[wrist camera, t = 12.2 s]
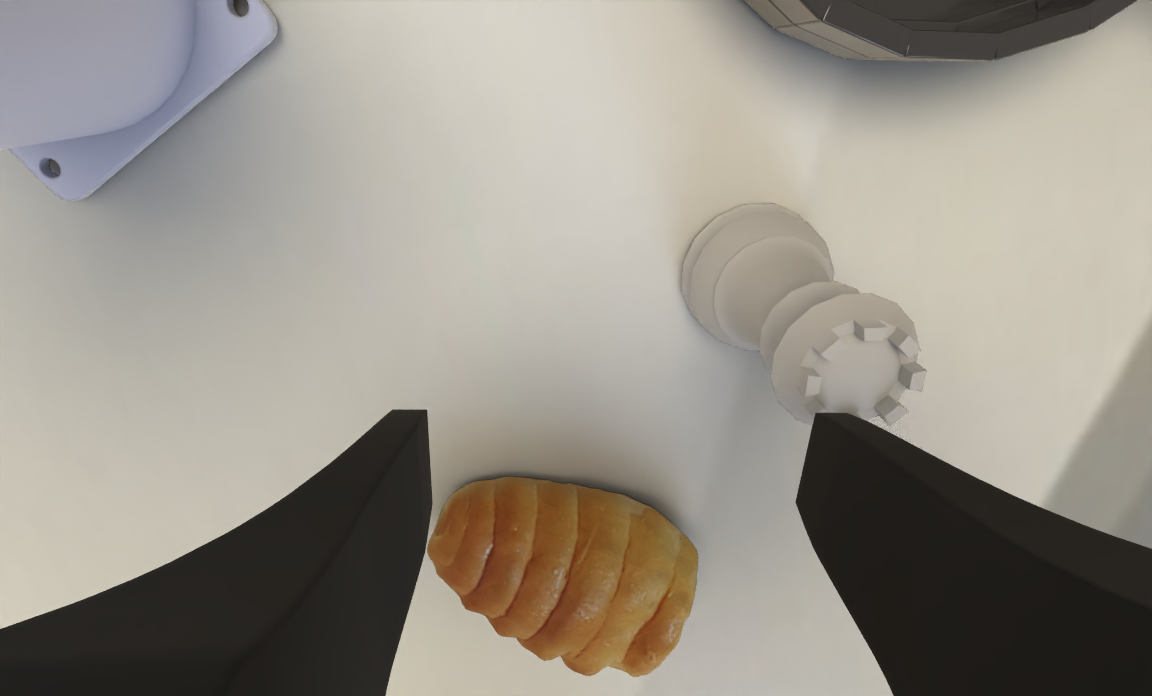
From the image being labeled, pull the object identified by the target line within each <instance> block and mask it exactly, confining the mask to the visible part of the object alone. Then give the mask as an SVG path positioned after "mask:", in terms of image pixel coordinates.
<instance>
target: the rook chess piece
mask: <svg viewBox="0 0 1152 696" xmlns="http://www.w3.org/2000/svg"><path fill="white" fill-rule="evenodd" d="M833 277H834V269H833V265H832V262H831V258H830V254H829V251H828V247H827V245H826V242H825V241H824V240H823V239H822V238H821V236H820V235H819V234H818V233H817V232H816V231H815V230H814V228H813V227H812V226H811V225H810V224H809V223H808V222H806V221H804V220H803V219H802V217H801V216H800V215H799V214H797V213H795V212H793V211H790V210H788V209H785V208H783V207H781V206H778V205H776V204H773V203H771V204H744V205H742V206H739V207H737V208H735V209H732V210H730V211H728V212H725V213H723V214H721V215H719V216H717V217H716V218H715V219H714V220H713V221H711V222H710V223H709V224H708V225H707V226H706V227H705V228H704V229H703V230H702V231H701V232H700V233H699V234H698V235H697V236H696V237H695V239H694V241H693V243H692V245H691V247H690V250H689V252H688V254H687V256H686V258H685V260H684V262H683V274H682V292H683V295H684V298H685V300H686V303H687V305H688V308H689V311H690V313H691V315H693V316H694V317H695V318H696V319H697V320H698V321H699V323H700V324H701V325H702V326H703V327H704V328H705V329H706V330H707V331H708V332H709V333H710V334H711V335H712V336H713V337H714V338H716V339H717V340H719V341H721V342H724V343H726V344H729V345H732V346H735V347H738V348H740V349H743V350H759V351H760V354H761V357H762V360H763V362H764V365H765V368H766V369H767V370H768V371H769V372H770V373H771V374H772V376H771V381H772V384H773V387H774V390H775V393H776V396H777V399H778V402H779V404H781V405H782V406H783V407H784V408H785V409H786V410H787V411H788V412H789V413H790V414H791V415H792V416H793V417H794V418H795V419H796V420H799V421H802V422H805V423H808V424H811V425H813V421H814V417H815V413H849V414H851V415H854V416H857V417H859V418H861V419H863V420H866V421H867V420H869V419H872V418H874V417H877V416H880V417H881V418H882V419H883V420H884V421H885V422H886V423H887V424H888V425H889V426H891V425H892V424H893V423H895V422H896V421H897V420H898V419H900V418H901V417H902V416H904V415H905V414H906V413H907V412H909V411H908V410H907V409H906V408H905V407H904V406H902V405H901V404H900V403H899V402H898V399H899V398H900V396H901V395H902V393H903V392H904V390H905V389H906V388H907V389H909V390H913V391H919V392H922V389H923V385H924V380H925V376H926V372H927V370H925V369H924V368H923V367H922V366H920V365H919V364H918V363H916V360H917V355H918V353H919V352H921V351H922V350H921V349H920V347H919V344H918V340H917V335H916V331H915V326H914V322H913V321H912V320H911V319H910V318H909V317H908V316H907V314H906V313H905V312H904V311H903V310H902V309H901V307H900V306H899V305H898V304H897V303H895V302H892V301H890V300H887V299H885V298H882V297H879V296H877V295H874V294H872V293H870V294H861V293H860V292H859V291H858V290H857V289H855V288H852V287H850V286H847V285H845V284H842V283H840V282H837V281H835V282H834V281H833Z"/></svg>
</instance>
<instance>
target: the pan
mask: <svg viewBox="0 0 1152 696" xmlns="http://www.w3.org/2000/svg"><path fill="white" fill-rule="evenodd" d="M744 1H746V2H747V3H748V4H749V5H750V6H751V7H752V8H753V9H754V10H755V11H756V12H757V13H758V14H759V15H760V16H761V17H762V18H763V19H764V20H765V21H766V22H767V23H768V24H769V25H770V26H771V27H774V28H775V30H778V31H780V32H782V33H785V34H787V35H789V36H792V37H794V38H796V39H798V40H801V41H803V42H805V43H808V44H810V45H812V46H815V47H817V48H819V49H822V50H824V51H826V52H829V53H831V54H833V55H836V56H838V57H840V58H846V59H855V60H884V61H914V62H941V61H992V60H999V59H1002V58H1006V57H1009V56H1012V55H1015V54H1018V53H1022V52H1025V51H1028V50H1031V49H1035V48H1038V47H1041V46H1044V45H1048V44H1051V43H1054V42H1057V41H1061V40H1064V39H1067V38H1070V37H1074V36H1077V35H1080V34H1083V33H1086V32H1088V31H1089V30H1092V29H1094V28H1095V27H1097V26H1098V25H1100V24H1102V23H1103V22H1105V21H1106V20H1108V19H1109V18H1111V17H1112V16H1114V15H1115V14H1117V13H1119V12H1120V11H1122V10H1123V9H1125V8H1126V7H1128V6H1129V5H1131V4H1133V3H1134V2H1136V1H1137V0H744Z"/></svg>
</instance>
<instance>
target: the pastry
mask: <svg viewBox="0 0 1152 696" xmlns="http://www.w3.org/2000/svg"><path fill="white" fill-rule="evenodd" d="M427 552H428V555H429V557H430V559H431V560H432V561H433V563H434V566H435V568H436V572H437V574H438V576H439V577H440V578H442V579H443V580H444V581H445V583H447V584H448V585H449V586H450V587H451V588H452V589H453V590H454V591H455V592H456V593H457V594H458V595H459V597H460V599H461V602H462V604H463V605H464V607H465V608H466V609H467V610H470V611H473V612H477V613H481V614H483V615H484V616H486V617H487V618H488V620H489V622H490V623H491V625H492V626H493V627H494V629H495V631H496V632H497V633H498V634H499V635H501V636H505V637H515V638H517V640H518V641H519V642H520V644H521V645H522V646H523V647H525V648H526V649H528V650H530V651H531V652H533V653H534V654H536V655H537V656H538V657H539V658H540V659H542V660H544V661H546V660H552V659H554V658H556V657H559V656H561V657H562V659H563V661H564V663H565V664H566V666H567V667H569V668H570V669H572V670H573V671H575V672H577V673H580V674H583V675H586V676H591V675H594V674H596V673H598V672H599V671H600V670H602V669H603V668H605V667H607V666H610V667H612V668H615V669H619V670H622V671H625V672H627V673H628V674H629V675H631V676H632V677H639V676H641V675H647V674H649V673H650V672H652V671H653V670H654V669H655V668H657V667H658V666H659V665H660V664H661V663H662V662H663V661H664V660H665V658H666V657H667V656H668V655H669V654H670V652H671V651H672V650H673V649H674V648H675V646H676V645H677V644H678V641H679V639H680V636H681V632H682V628H683V625H684V622H685V621H686V619H687V618H688V617H689V615H690V612H691V608H692V604H693V600H694V596H695V591H696V584H697V567H698V554H697V550H696V549H695V547H694V545H693V544H692V543H691V541H690V540H689V539H688V538H687V537H686V536H685V535H684V534H683V533H682V532H681V531H680V530H679V529H677V528H676V527H675V526H674V525H673V524H672V523H671V522H670V521H669V520H667V519H666V518H665V517H664V516H662V515H661V514H660V513H659V512H657V511H656V510H655V509H654V508H652V507H650V506H647V505H644V504H642V503H640V502H637V501H635V500H633V499H631V498H630V497H628V496H627V495H622V494H617V493H612V492H606V491H604V490H601V489H591V488H587V487H584V486H580V485H575V484H571V483H567V484H564V483H557V482H551V481H550V480H541V479H534V478H525V477H519V478H518V477H503V478H498V479H492V480H483V481H474V482H471V483H469V484H467V485H465V486H464V487H462V488H460V489H458V490H457V491H455V492H454V493H453V494H452V495H451V496H450V497H449V499H448V500H447V502H446V504H445V505H444V506H443V508H442V510H441V512H440V515H439V518H438V521H437V524H436V526H435V529H434V532H433V534H432V536H431V538H430V540H429V544H428V548H427Z"/></svg>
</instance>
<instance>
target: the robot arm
mask: <svg viewBox="0 0 1152 696" xmlns="http://www.w3.org/2000/svg"><path fill="white" fill-rule="evenodd" d="M233 1H234V0H0V150H3V149H9V150H10V151H11V152H12V153H13V154H14V155H15V156H16V157H17V158H18V159H19V160H20V161H21V162H22V163H23V164H24V165H25V166H26V167H27V168H28V169H29V170H30V171H31V172H32V173H33V174H34V175H35V176H36V177H38V178H39V179H40V180H41V181H42V182H43V183H44V184H45V185H46V186H47V187H48V188H49V189H50V190H51V191H52V192H53V193H54V194H55V195H57V196H58V197H60V198H61V199H64V200H67V201H78V200H81V199H84V198H86V197H88V196H89V195H91V194H92V193H93V192H94V191H95V190H97V189H98V188H99V187H100V186H101V185H103V184H104V183H105V182H106V181H107V180H108V179H110V178H111V177H112V176H113V175H114V174H116V173H117V172H118V171H119V170H120V169H122V168H123V167H124V166H125V165H126V164H127V163H129V162H130V161H131V160H132V159H133V158H135V157H136V156H137V155H138V154H139V153H141V152H142V151H143V150H144V149H145V148H146V147H148V146H149V145H150V144H151V143H152V142H154V141H155V140H156V139H157V138H158V137H160V136H161V135H162V134H163V133H164V132H165V131H167V130H168V129H169V128H170V127H171V126H173V125H174V124H175V123H176V122H177V121H179V120H180V119H181V118H182V117H183V116H184V115H186V114H187V113H188V112H189V111H190V110H192V109H193V108H194V107H195V106H196V105H198V104H199V103H200V102H201V101H202V100H203V99H205V98H206V97H207V96H208V95H209V94H211V93H212V92H213V91H214V90H215V89H217V88H218V87H219V86H220V85H221V84H222V83H224V82H225V81H226V80H227V79H228V78H230V77H231V76H232V75H233V74H234V73H236V72H237V71H238V70H239V69H240V68H241V67H243V66H244V65H245V64H246V63H247V62H249V61H250V60H251V59H252V58H253V57H255V56H256V55H257V54H258V53H259V52H260V51H262V50H263V49H264V48H265V47H266V46H268V45H269V44H270V43H271V42H272V41H273V40H274V38H275V37H276V35H277V30H278V27H277V21H276V18H275V17H274V15H273V13H272V11H271V10H270V9H269V8H268V6H267V5H266V4H265V3H264V1H263V0H247V2H248V12H247V14H246V15H244V16H242V17H241V16H240V15H238V14H237V13H236V11H235V9H234V7H233ZM50 159H52V160H54V161H55V162H57V164H58V165H59V167H60V174H59V175H57V174H56V173H54V172H53V171H52V169H51V168H50V166H49V161H50ZM796 504H797V507H798V510H799V513H800V515H801V518H802V521H803V524H804V526H805V529H806V531H807V534H808V536H809V539H810V541H811V543H812V546H813V548H814V550H815V552H816V554H817V556H818V558H819V559H820V561H821V563H822V565H823V567H824V568H825V570H826V572H827V574H828V576H829V577H830V579H831V581H832V583H833V585H834V586H835V588H836V590H837V592H838V593H839V595H840V597H841V599H842V600H843V602H844V604H845V606H846V607H847V609H848V611H849V612H850V614H851V616H852V618H853V619H854V621H855V623H856V625H857V626H858V628H859V630H860V632H861V633H862V635H863V637H864V639H865V640H866V642H867V644H868V646H869V647H870V649H871V651H872V653H873V654H874V656H875V658H876V660H877V662H878V664H879V666H880V668H881V670H882V672H883V674H884V676H885V678H886V680H887V682H888V684H889V686H890V689H891V691H892V693H893V695H894V696H1152V549H1150V548H1147V547H1144V546H1141V545H1138V544H1136V543H1133V542H1130V541H1127V540H1124V539H1121V538H1118V537H1115V536H1112V535H1109V534H1107V533H1104V532H1101V531H1098V530H1096V529H1093V528H1090V527H1088V526H1085V525H1082V524H1080V523H1077V522H1075V521H1072V520H1070V519H1068V518H1065V517H1063V516H1060V515H1058V514H1055V513H1053V512H1050V511H1048V510H1045V509H1043V508H1041V507H1038V506H1036V505H1033V504H1031V503H1029V502H1027V501H1024V500H1022V499H1020V498H1018V497H1015V496H1013V495H1011V494H1009V493H1007V492H1005V491H1003V490H1001V489H999V488H996V487H994V486H992V485H990V484H988V483H986V482H984V481H982V480H980V479H978V478H976V477H974V476H972V475H970V474H968V473H966V472H964V471H962V470H960V469H958V468H956V467H954V466H952V465H950V464H948V463H946V462H944V461H942V460H940V459H938V458H937V457H935V456H933V455H931V454H929V453H927V452H925V451H923V450H922V449H920V448H918V447H916V446H914V445H912V444H910V443H908V442H906V441H905V440H903V439H901V438H899V437H897V436H895V435H893V434H891V433H890V432H888V431H886V430H884V429H882V428H880V427H878V426H876V425H874V424H872V423H870V422H868V421H866V420H863V419H861V418H859V417H857V416H854V415H851V414H849V413H815V417H814V421H813V426H812V430H811V435H810V439H809V444H808V448H807V453H806V457H805V462H804V466H803V471H802V476H801V480H800V485H799V489H798V494H797V498H796ZM431 510H432V487H431V470H430V452H429V435H428V417H427V410H392V411H390V412H389V413H388V414H387V415H386V416H384V417H383V418H382V419H381V420H380V421H379V422H378V423H376V424H375V425H374V426H373V427H372V428H371V429H370V430H369V431H367V432H366V433H365V434H364V435H363V436H362V437H361V438H359V439H358V440H357V441H356V442H355V443H354V444H353V445H351V446H350V447H349V448H348V449H347V450H345V451H344V452H343V453H342V454H341V455H340V456H338V457H337V458H336V459H335V460H334V461H332V462H331V463H330V464H329V465H327V466H326V467H325V468H323V469H322V470H321V471H319V472H318V473H317V474H315V475H314V476H313V477H311V478H310V479H309V480H307V481H306V482H305V483H303V484H302V485H301V486H299V487H298V488H297V489H295V490H294V491H293V492H291V493H290V494H289V495H287V496H286V497H284V498H283V499H281V500H280V501H278V502H277V503H275V504H274V505H272V506H271V507H269V508H268V509H266V510H265V511H263V512H261V513H260V514H258V515H256V516H255V517H253V518H252V519H250V520H248V521H247V522H245V523H243V524H242V525H240V526H238V527H237V528H235V529H233V530H231V531H230V532H228V533H226V534H224V535H222V536H220V537H218V538H216V539H214V540H212V541H211V542H209V543H207V544H205V545H203V546H201V547H199V548H197V549H195V550H193V551H191V552H189V553H187V554H185V555H183V556H182V557H180V558H178V559H176V560H174V561H172V562H170V563H168V564H165V565H163V566H161V567H159V568H157V569H155V570H152V571H150V572H148V573H146V574H143V575H141V576H139V577H137V578H134V579H132V580H130V581H127V582H125V583H123V584H120V585H118V586H115V587H113V588H111V589H108V590H106V591H103V592H101V593H99V594H96V595H94V596H91V597H88V598H86V599H83V600H81V601H78V602H76V603H73V604H70V605H68V606H65V607H62V608H59V609H56V610H53V611H50V612H48V613H45V614H42V615H39V616H36V617H33V618H31V619H28V620H25V621H22V622H19V623H16V624H14V625H11V626H8V627H5V628H2V629H0V696H385V695H386V690H387V686H388V682H389V677H390V673H391V669H392V665H393V662H394V658H395V655H396V651H397V648H398V644H399V641H400V637H401V634H402V631H403V627H404V624H405V620H406V617H407V613H408V610H409V606H410V603H411V600H412V596H413V593H414V589H415V586H416V582H417V579H418V575H419V572H420V568H421V565H422V561H423V557H424V554H425V549H426V543H427V536H428V530H429V523H430V517H431Z"/></svg>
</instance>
